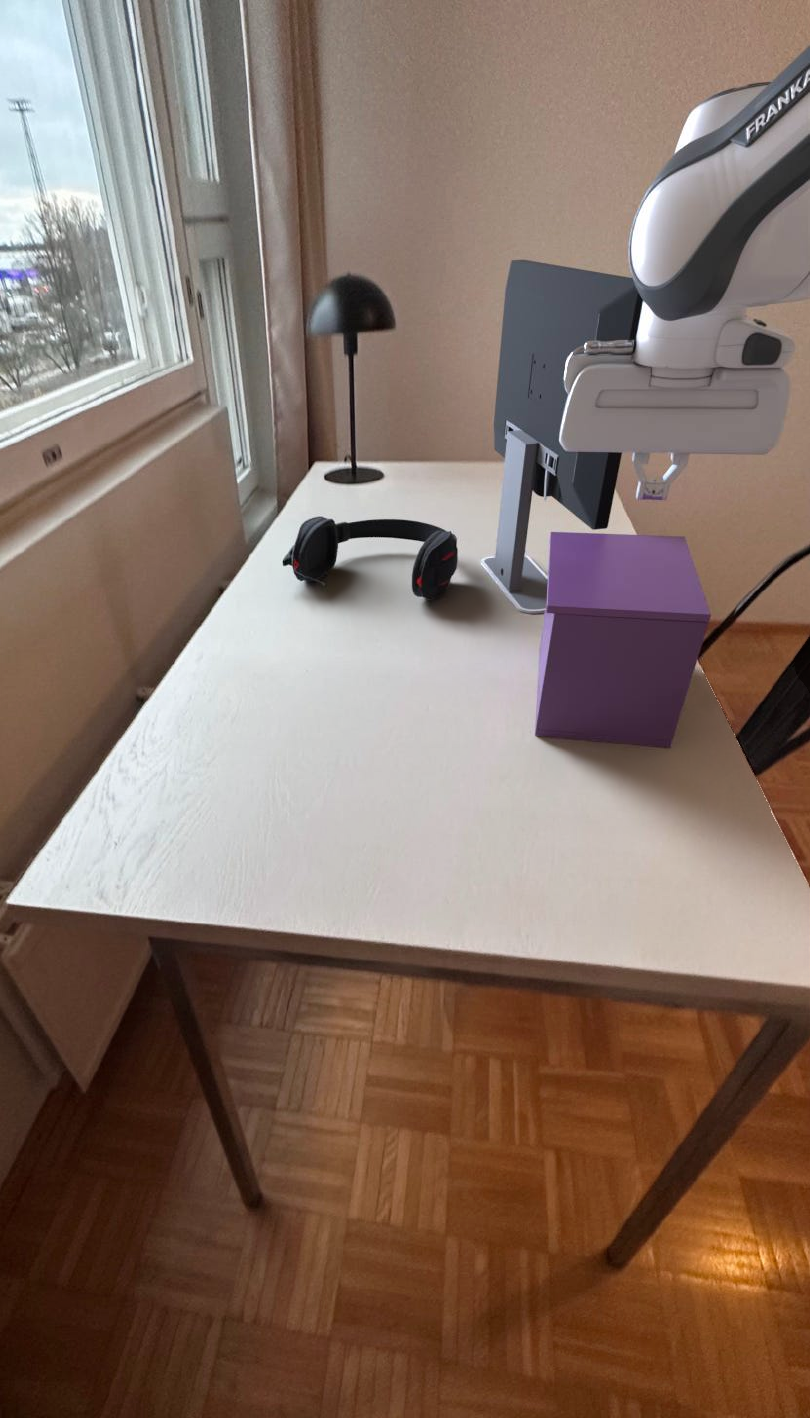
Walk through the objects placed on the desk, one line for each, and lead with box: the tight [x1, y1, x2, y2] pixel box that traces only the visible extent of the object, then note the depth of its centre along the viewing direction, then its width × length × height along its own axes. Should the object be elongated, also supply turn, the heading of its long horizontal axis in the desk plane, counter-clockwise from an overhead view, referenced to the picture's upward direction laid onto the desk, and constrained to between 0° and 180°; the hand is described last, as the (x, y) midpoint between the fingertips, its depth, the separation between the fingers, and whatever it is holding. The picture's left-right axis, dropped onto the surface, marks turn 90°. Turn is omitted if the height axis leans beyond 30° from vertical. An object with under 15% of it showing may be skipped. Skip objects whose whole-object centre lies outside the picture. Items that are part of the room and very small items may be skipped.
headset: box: [282, 516, 459, 601], centre depth 118 cm, size 28×26×9 cm
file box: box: [534, 604, 709, 749], centre depth 86 cm, size 15×22×15 cm
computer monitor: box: [480, 259, 643, 615], centre depth 105 cm, size 41×8×40 cm, turn 9°
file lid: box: [546, 531, 712, 623], centre depth 81 cm, size 16×22×1 cm
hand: (650, 498), depth 76 cm, fingers closed
